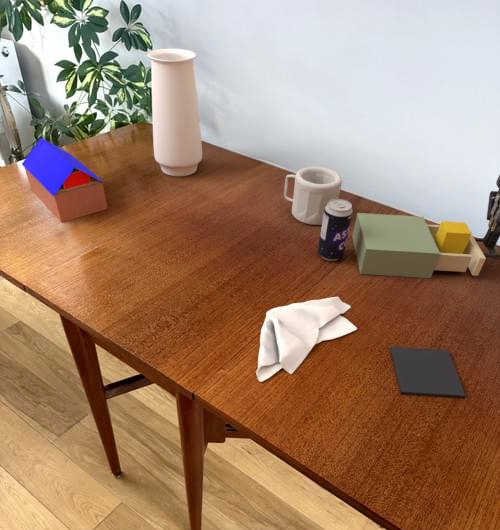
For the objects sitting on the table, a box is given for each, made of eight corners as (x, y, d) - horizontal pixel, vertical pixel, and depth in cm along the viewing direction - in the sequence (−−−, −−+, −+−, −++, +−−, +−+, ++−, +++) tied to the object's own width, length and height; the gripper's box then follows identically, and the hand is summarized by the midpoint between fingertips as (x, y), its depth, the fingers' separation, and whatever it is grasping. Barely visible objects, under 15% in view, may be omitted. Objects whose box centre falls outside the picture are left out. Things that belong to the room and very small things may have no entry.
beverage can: (329, 265, 97) (339, 214, 89) (311, 253, 101) (319, 202, 92) (348, 257, 100) (360, 206, 92) (330, 245, 103) (340, 195, 95)
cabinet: (415, 240, 106) (423, 216, 102) (430, 278, 96) (440, 253, 91) (352, 236, 106) (357, 212, 102) (360, 274, 96) (366, 248, 91)
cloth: (319, 285, 92) (320, 276, 91) (373, 322, 85) (376, 312, 83) (214, 341, 79) (214, 331, 78) (267, 390, 72) (268, 380, 70)
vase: (206, 177, 126) (203, 60, 107) (157, 180, 123) (146, 61, 104) (198, 158, 135) (195, 47, 116) (153, 160, 132) (142, 47, 113)
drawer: (479, 242, 105) (486, 225, 102) (499, 277, 95) (508, 259, 92) (400, 237, 105) (405, 220, 102) (412, 272, 95) (418, 254, 92)
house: (60, 223, 105) (47, 174, 97) (29, 189, 116) (15, 143, 109) (109, 209, 111) (100, 161, 103) (75, 178, 122) (65, 133, 114)
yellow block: (455, 246, 101) (465, 222, 97) (461, 258, 98) (471, 233, 94) (432, 245, 101) (441, 221, 97) (437, 257, 98) (446, 232, 94)
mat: (447, 352, 80) (448, 350, 79) (464, 398, 72) (465, 395, 72) (389, 349, 80) (390, 346, 79) (400, 394, 72) (401, 391, 72)
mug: (341, 211, 115) (348, 172, 108) (326, 230, 108) (333, 190, 101) (291, 197, 119) (295, 159, 112) (273, 215, 112) (277, 175, 105)
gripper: (563, 183, 81) (517, 264, 93) (532, 152, 91) (494, 230, 103) (521, 179, 81) (480, 261, 93) (495, 149, 91) (461, 227, 103)
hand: (487, 245), depth 98 cm, fingers closed
